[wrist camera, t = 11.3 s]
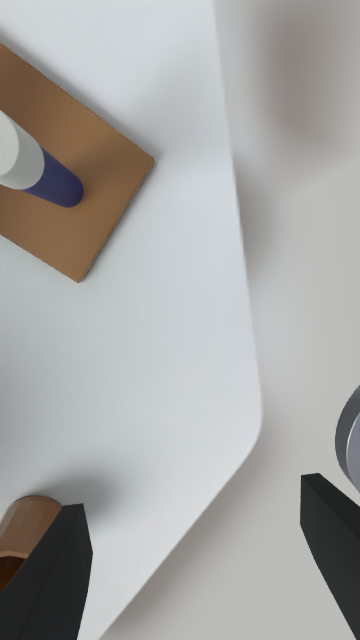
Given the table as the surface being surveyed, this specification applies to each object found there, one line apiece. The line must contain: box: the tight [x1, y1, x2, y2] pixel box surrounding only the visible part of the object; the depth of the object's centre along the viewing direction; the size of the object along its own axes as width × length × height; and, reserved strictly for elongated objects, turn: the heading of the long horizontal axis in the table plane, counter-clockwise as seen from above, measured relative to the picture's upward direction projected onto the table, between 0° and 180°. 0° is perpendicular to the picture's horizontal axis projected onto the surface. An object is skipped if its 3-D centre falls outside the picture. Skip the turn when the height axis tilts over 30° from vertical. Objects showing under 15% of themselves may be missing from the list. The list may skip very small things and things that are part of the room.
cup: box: [0, 496, 62, 593], centre depth 20 cm, size 5×5×4 cm
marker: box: [0, 110, 83, 208], centre depth 12 cm, size 2×2×8 cm
